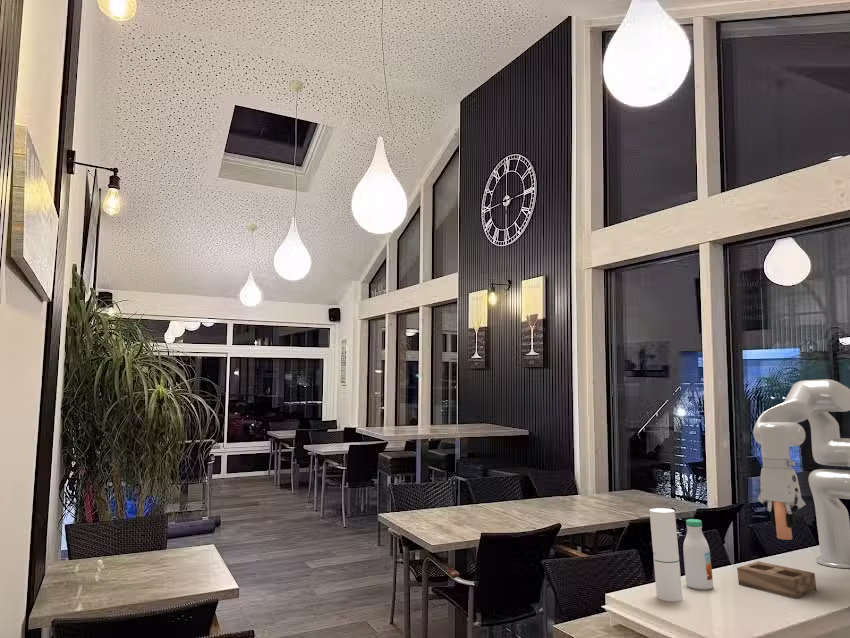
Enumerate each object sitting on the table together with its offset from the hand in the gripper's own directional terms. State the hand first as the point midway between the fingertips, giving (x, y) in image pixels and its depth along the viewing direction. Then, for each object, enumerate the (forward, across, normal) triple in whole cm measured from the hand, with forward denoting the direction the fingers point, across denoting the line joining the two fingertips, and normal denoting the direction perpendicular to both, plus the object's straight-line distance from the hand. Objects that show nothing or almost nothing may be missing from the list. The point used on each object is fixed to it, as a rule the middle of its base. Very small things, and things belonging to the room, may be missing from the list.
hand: (783, 525), depth 183 cm
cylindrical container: (+19, +18, +33) cm, 42 cm away
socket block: (+19, +4, 0) cm, 19 cm away
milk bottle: (+19, +19, +17) cm, 32 cm away
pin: (+4, 0, 0) cm, 4 cm away
